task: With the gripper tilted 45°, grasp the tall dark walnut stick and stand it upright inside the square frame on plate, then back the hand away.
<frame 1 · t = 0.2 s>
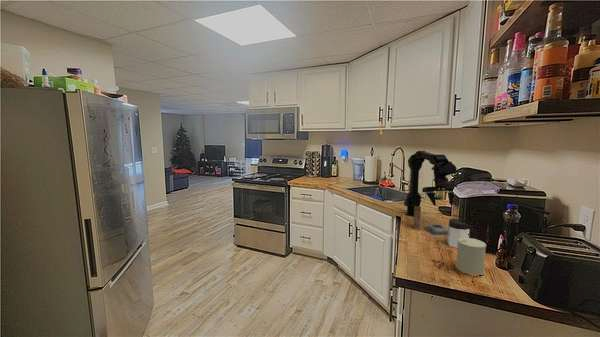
hand: (443, 205, 134), 16 cm above the countertop, tool tilted 15°, fingers open, 9 cm apart
square frame on plate: (436, 231, 138), on the countertop
jar: (457, 245, 119), on the countertop
can: (469, 270, 97), on the countertop
walnut stick: (416, 228, 142), on the countertop
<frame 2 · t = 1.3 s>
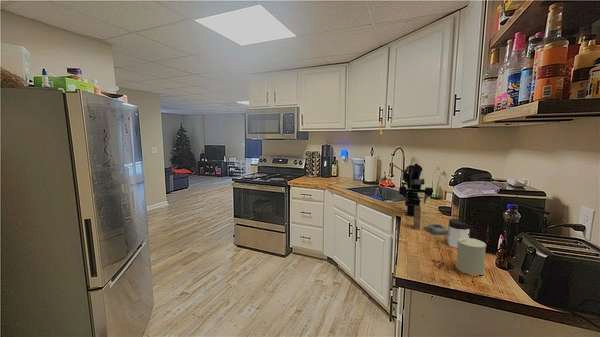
hand: (416, 202, 148), 13 cm above the countertop, tool tilted 45°, fingers open, 9 cm apart
nothing on the countertop moved.
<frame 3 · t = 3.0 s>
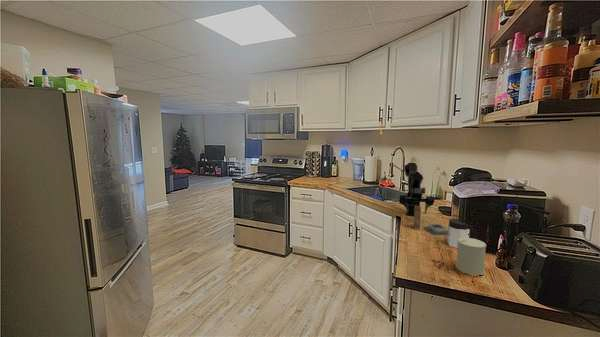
hand: (416, 212, 143), 9 cm above the countertop, tool tilted 45°, fingers open, 9 cm apart
nothing on the countertop moved.
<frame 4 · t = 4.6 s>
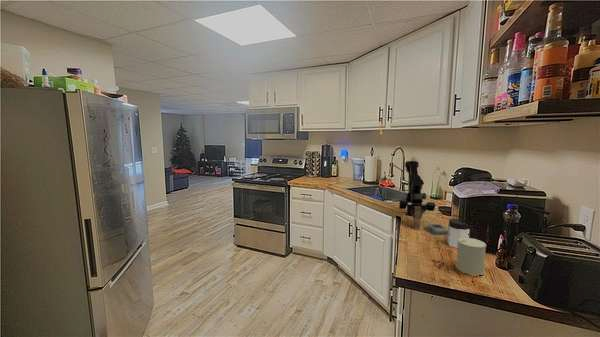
hand: (417, 218, 140), 7 cm above the countertop, tool tilted 45°, fingers closed on walnut stick, 3 cm apart
walnut stick: (416, 228, 142), on the countertop, touching gripper
everything else where it was.
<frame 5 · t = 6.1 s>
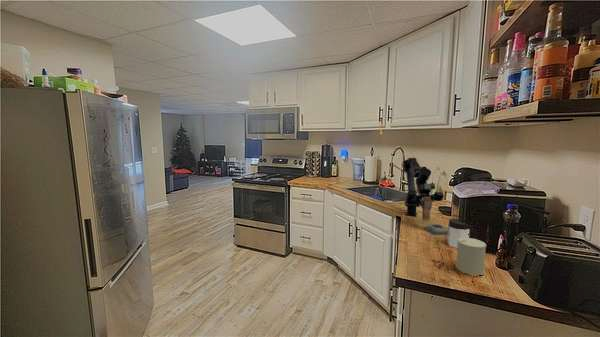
hand: (427, 209, 137), 13 cm above the countertop, tool tilted 45°, fingers closed on walnut stick, 3 cm apart
walnut stick: (425, 219, 139), point 6 cm above the countertop, touching gripper
everything else where it was.
when the fingers open (9 cm above the countertop, at t = 7.4 s): walnut stick drops 2 cm, resting on square frame on plate.
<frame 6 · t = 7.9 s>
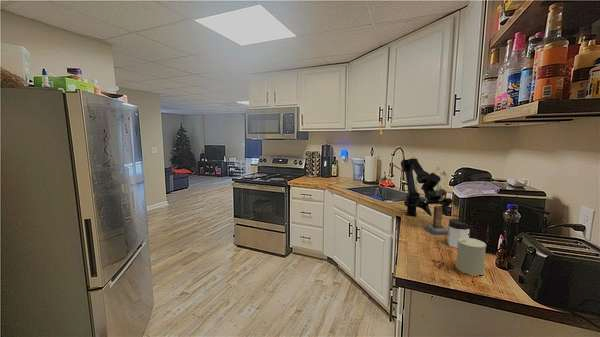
hand: (439, 215, 135), 9 cm above the countertop, tool tilted 45°, fingers open, 8 cm apart
walnut stick: (436, 229, 137), point 1 cm above the countertop, touching square frame on plate
everything else where it was.
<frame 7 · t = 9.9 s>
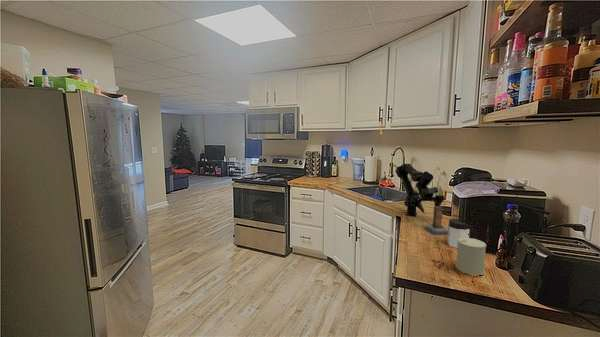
hand: (431, 212, 143), 9 cm above the countertop, tool tilted 45°, fingers open, 9 cm apart
nothing on the countertop moved.
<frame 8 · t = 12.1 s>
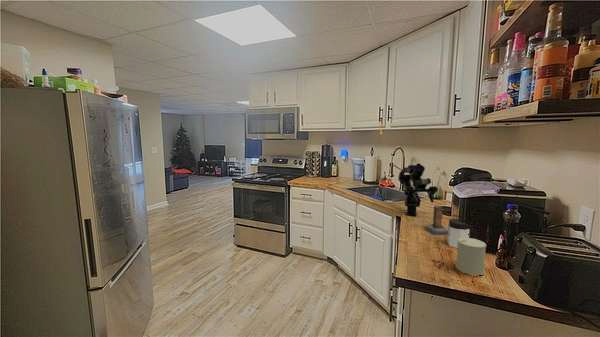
hand: (425, 202, 148), 14 cm above the countertop, tool tilted 45°, fingers open, 9 cm apart
nothing on the countertop moved.
at the end: walnut stick 0.1 cm off-centre on the square frame on plate, point 1.0 cm above the square frame on plate's base; walnut stick tilted 0°; the gripper is holding nothing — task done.
